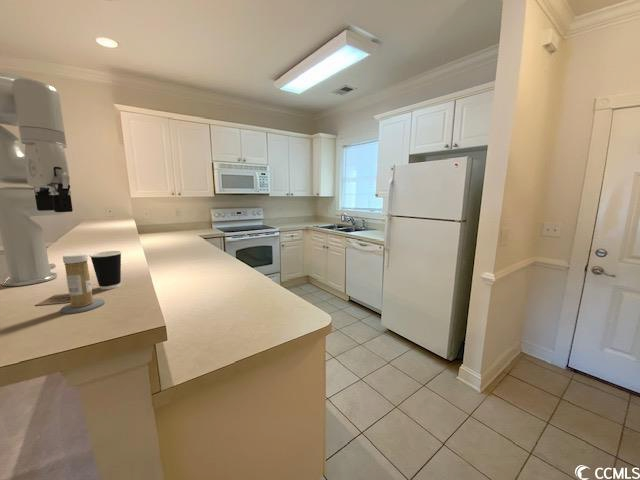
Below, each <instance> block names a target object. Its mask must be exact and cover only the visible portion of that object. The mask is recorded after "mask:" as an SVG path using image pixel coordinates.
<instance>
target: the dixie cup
mask: <svg viewBox="0 0 640 480" xmlns="http://www.w3.org/2000/svg"><path fill="white" fill-rule="evenodd" d="M122 253H123V251H122V250H108V251H107V250H106V251H99V252H95V253H91V254H89V257H90V259H91V260H90V261H91V263H92V266H93V271H94V272H95V273H94V274H95V278H96V281H97V284H98V286H99V287H100V290H111V289H117V288H118V287H120V284H121V279H122V278H121V277H122V276H121V274H122V273H121V272H122V271H121V269H122Z"/></svg>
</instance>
